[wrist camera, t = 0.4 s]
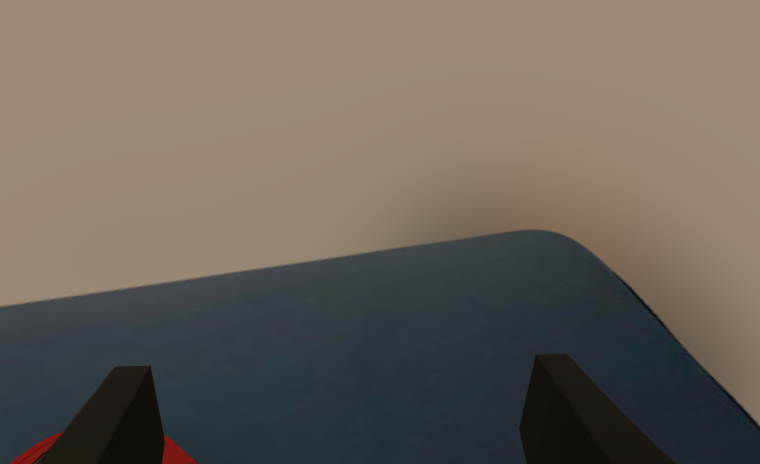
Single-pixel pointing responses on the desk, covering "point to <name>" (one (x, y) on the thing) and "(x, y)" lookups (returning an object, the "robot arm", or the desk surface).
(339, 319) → the desk surface
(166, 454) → the red curved piece
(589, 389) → the robot arm
